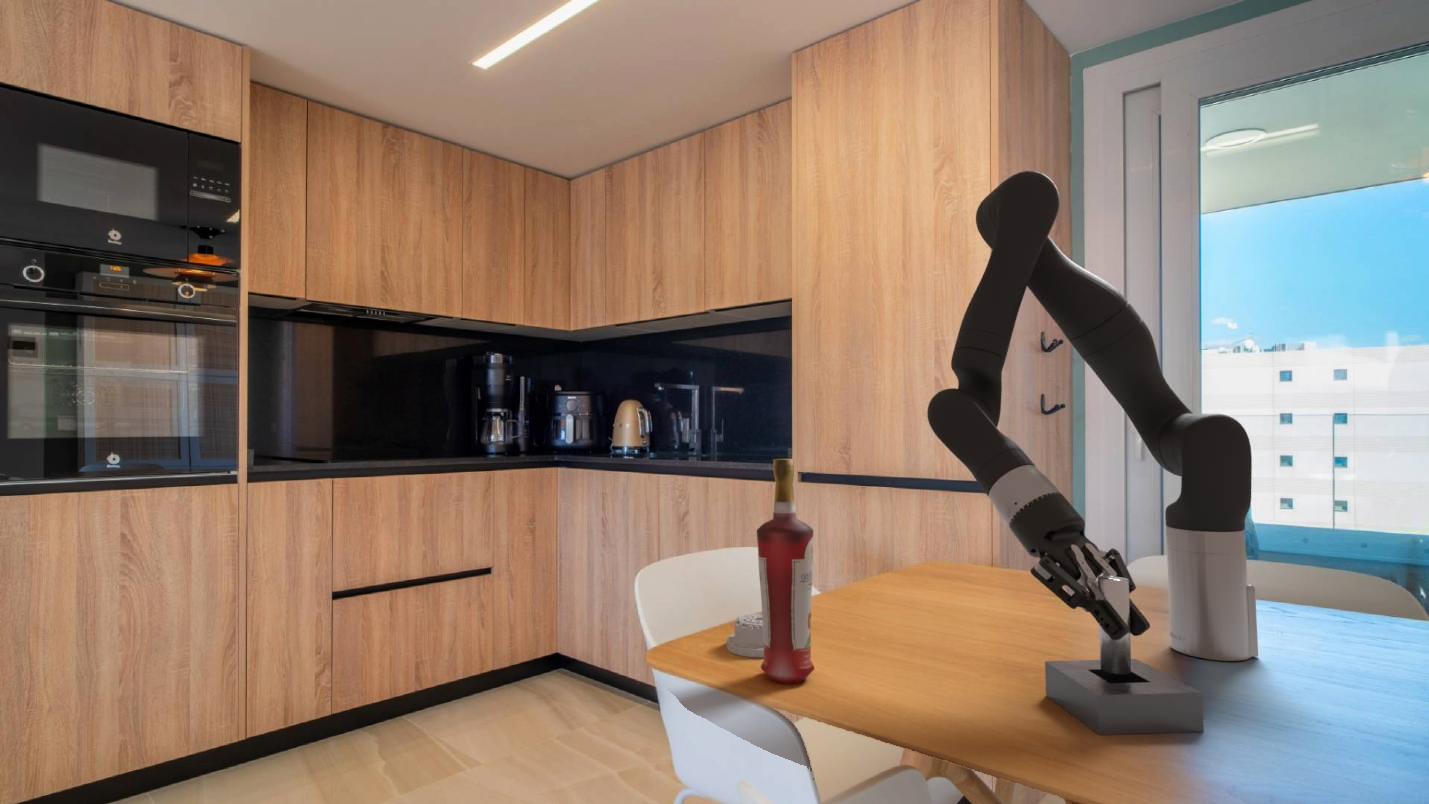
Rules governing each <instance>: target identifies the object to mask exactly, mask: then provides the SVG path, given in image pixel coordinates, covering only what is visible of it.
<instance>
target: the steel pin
mask: <svg viewBox="0 0 1429 804" xmlns="http://www.w3.org/2000/svg"><path fill="white" fill-rule="evenodd" d="M1097 581H1098V588H1099V590H1100V591H1101V593H1102V594H1103V596H1104V600H1103V601H1108V602H1109V603H1110V604H1111V605H1112V607H1113V608H1114V609H1115V610H1116V612H1117V613H1118V614H1119V615H1120V617H1121V618H1122V619H1123V621H1124V622H1125V623H1126V624H1127V626H1128V627H1129V633H1127V634H1126V635H1125V636H1124V637H1122V638H1121V639H1119V640H1112V639H1111V638H1110V637H1109V635H1108V634H1107V633H1106V632H1105V631H1104V630H1103V629H1102V627H1101V626H1100V625H1099V624H1098V627H1099V629H1098V630H1099V660H1100V668H1101V669H1102V670H1104V671H1106V672H1110V673H1115V674H1129V673H1131V659H1132V650H1131V649H1132V648H1131V647H1132V645H1131V643H1132V642H1131V633H1130V605H1129V598H1130V595H1129V580H1128V579H1126V578H1123V577H1116V576H1103V575H1100V576H1098V577H1097Z"/></svg>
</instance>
